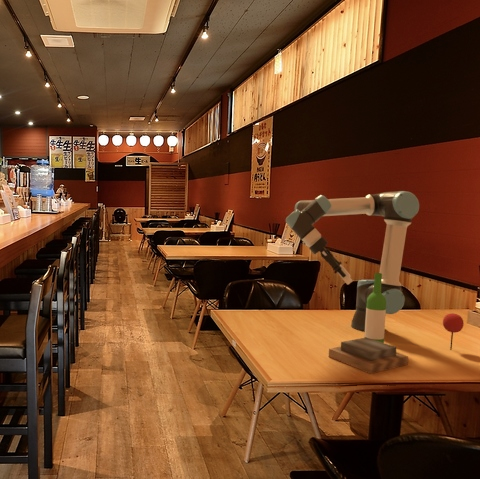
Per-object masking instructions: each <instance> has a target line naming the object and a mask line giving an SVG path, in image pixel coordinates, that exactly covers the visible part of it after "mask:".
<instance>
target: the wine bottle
mask: <svg viewBox="0 0 480 479" xmlns="http://www.w3.org/2000/svg"><path fill="white" fill-rule="evenodd" d="M373 280H374V289H373V293H372V294H370V295H369V296H368V298H367V306H366V320H365V331H364V336H363V338H370V339H373V340H376V341H379V342H382V343H385V342H384V341H385V331H386V330H385V327H386V315H387V314H386V299H385V297H384V296H383V294H382V293H381V283H382V274H381V273H379V272H375V273H374V278H373Z"/></svg>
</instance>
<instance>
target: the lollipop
mask: <svg viewBox="0 0 480 479" xmlns="http://www.w3.org/2000/svg"><path fill="white" fill-rule="evenodd" d="M442 325H443V326H442V327H443V328H444V330H446V331H448V332H450V333H451V335H450V336H451V337H450V347H449V351H452V350H453V348H452V347H453V336H454V333H459V332H460V331H462V329H463V328H464V325H465V324H464V320H463V317H462V316H460V315H459V314H457V313H448V314H447V313H446V315H445V316H443V319H442Z"/></svg>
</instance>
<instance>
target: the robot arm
mask: <svg viewBox="0 0 480 479" xmlns="http://www.w3.org/2000/svg"><path fill="white" fill-rule="evenodd" d="M419 209H420V202H419V199H418V197H417V196H416V195H415V194H414V193H412V192H410V191H408V190H407V191H405V190H399V191H384V192H380V193H375V194H374V193H373V194H367V195H365V197H363V196H362V197H348V198H347V197H345V198H329V199H328V198H327V197H326V196H325V195H322V194H320V195H318V196H317V197H315V198H314V199H308V200H307V199H302V200H299V201H298V202H296V203H295V205H294V211H292V212H291V213H290V214H289V215H288V216H286V218H285V223H286V224H287V225H288V227H289V228H290V230H292V231H293V232H294V233H295V235H296V236H298V239H300V240H301V242H302V244H303V245H304V244H305V246H306V247H307V248H308V247H309V250H310V251H311V253H312V254H314V255H316V254H318V253H320V257H321V258H322V259H323V260H324V261H326V263H328V264H329V265H330V267H331V268H332V269H333V270H334V271H333V272H334V274H335V275H336V274H337V275H338V276H339V278H341V280H342V281H344V283H345V284H346V285H350V284H351V283H353V281H354V280H353V279H352V275H351V274H350V273H349V271H348V270H347V269H346V268H345V267H344V266H343V265H342V264H343V262H341V261H338V259H336V257H335V256H334V254H333V253H332V252H331V250H330V249H329V248H327V247H326V246H327V245H328V241H327V240H326V238H325V237H324V236H322V233H320V231H319V230H318V229H317V228H315V226H314V224H315V223H317V222H318V221H319V220H320V219H321V218H323V217H330V216H348V215H362V214H363V215H365V214H366V215H367V216H378V217H384V218H383V221H384V222H385V224H386V226H385V227H386V228H385V232H384V234H385V235H384V240H383V247H382V252H381V254H382V255H381V260H380V267H379V272H378V273H381V274H382V283H381V293H382V294H383V296H384V297H385V299H386V315H394V314H397V313H399V311H401V310H402V308H403V307H404V306H405V301H406V297H405V295H404V293H403V292H402V286H403V285H402V282H400V275H401V268H402V263H403V262H402V261H403V255H404V249H405V242H406V235H407V229H408V227H409V226H410V225H411V224H412V220H413V218H414V217H415V216H416V215H417V214H418V212H419V211H420V210H419ZM373 289H374V279H359V280H358V281H357V286H356V301H355V302H356V304H355V312H354V313H353V317H352V319H351V323H350V324H351V325H350V326H351V328H353V329H356V330H358V331H364V332H365V320H366V306H367V298H368V296H369V295H370V294H372V293H373Z"/></svg>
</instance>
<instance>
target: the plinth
mask: <svg viewBox="0 0 480 479" xmlns="http://www.w3.org/2000/svg"><path fill="white" fill-rule="evenodd" d="M328 358H330V359H334V360H336V361H339V362H341V363H343V364H346V365H349V366H351V367H354V368H355V369H359V370H360V371H363V372H366V373H369V374H375V373H379V372H384V371H386V370H391V369H395V368H398V367H402V366H403V367H404V366H407V365H408V361H409V356H407V355H405V354H402V353H399V352H397V346H394V345H391V344H387V343H385V342H384V343H382V342H379V341H376V340H373V339H370V338H364V337H361V338H356V339H350V340H345V341H340V346H337V347H332V348H331V347H330V348H328Z"/></svg>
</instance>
